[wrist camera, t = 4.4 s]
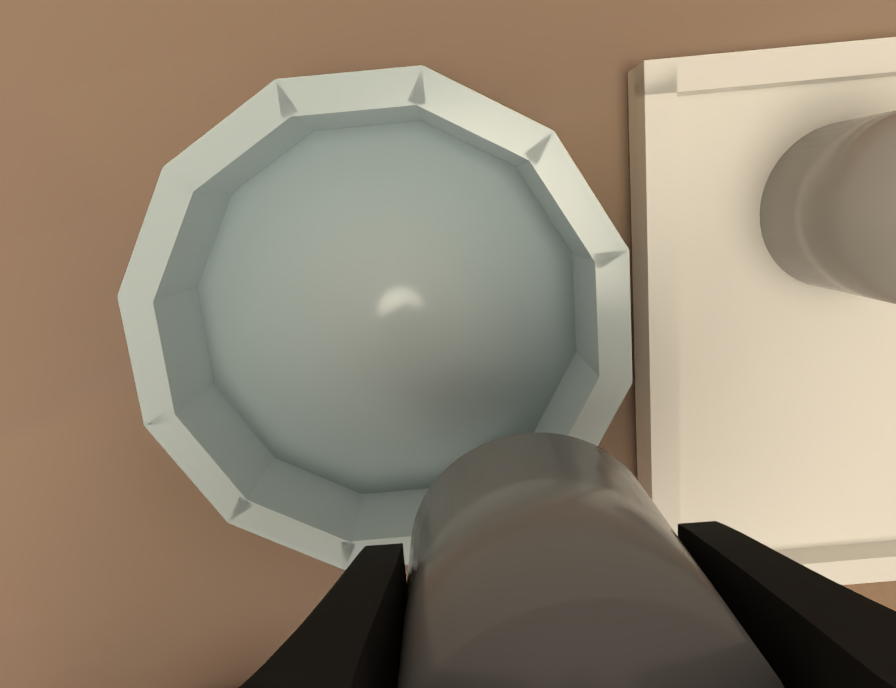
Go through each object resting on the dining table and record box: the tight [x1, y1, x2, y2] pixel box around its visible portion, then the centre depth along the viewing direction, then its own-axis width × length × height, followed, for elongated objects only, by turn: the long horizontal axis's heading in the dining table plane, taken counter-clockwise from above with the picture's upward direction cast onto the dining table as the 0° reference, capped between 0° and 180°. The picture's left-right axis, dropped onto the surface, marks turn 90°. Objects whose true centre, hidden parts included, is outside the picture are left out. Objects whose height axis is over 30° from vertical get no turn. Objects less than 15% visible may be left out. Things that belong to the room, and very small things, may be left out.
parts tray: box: [628, 37, 896, 585], centre depth 18 cm, size 15×11×1 cm
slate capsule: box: [397, 432, 784, 688], centre depth 9 cm, size 4×4×5 cm
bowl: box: [117, 65, 633, 570], centre depth 16 cm, size 12×12×3 cm
